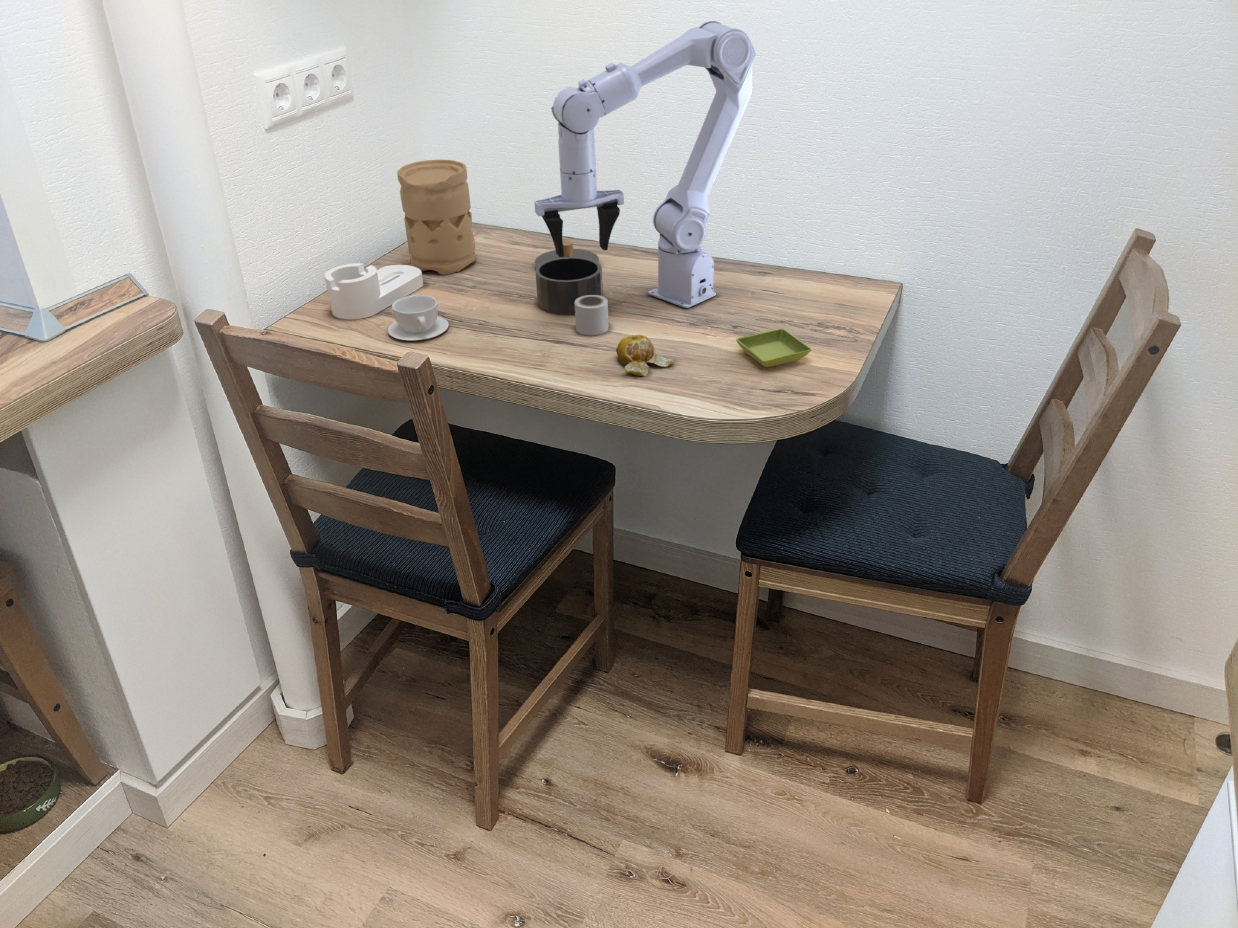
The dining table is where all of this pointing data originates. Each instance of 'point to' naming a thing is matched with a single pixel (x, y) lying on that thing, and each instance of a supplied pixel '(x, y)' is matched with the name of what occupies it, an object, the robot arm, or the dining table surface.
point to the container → (437, 215)
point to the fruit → (639, 355)
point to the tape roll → (591, 315)
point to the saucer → (773, 347)
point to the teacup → (416, 318)
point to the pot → (566, 283)
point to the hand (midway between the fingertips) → (581, 251)
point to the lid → (566, 254)
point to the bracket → (369, 288)
